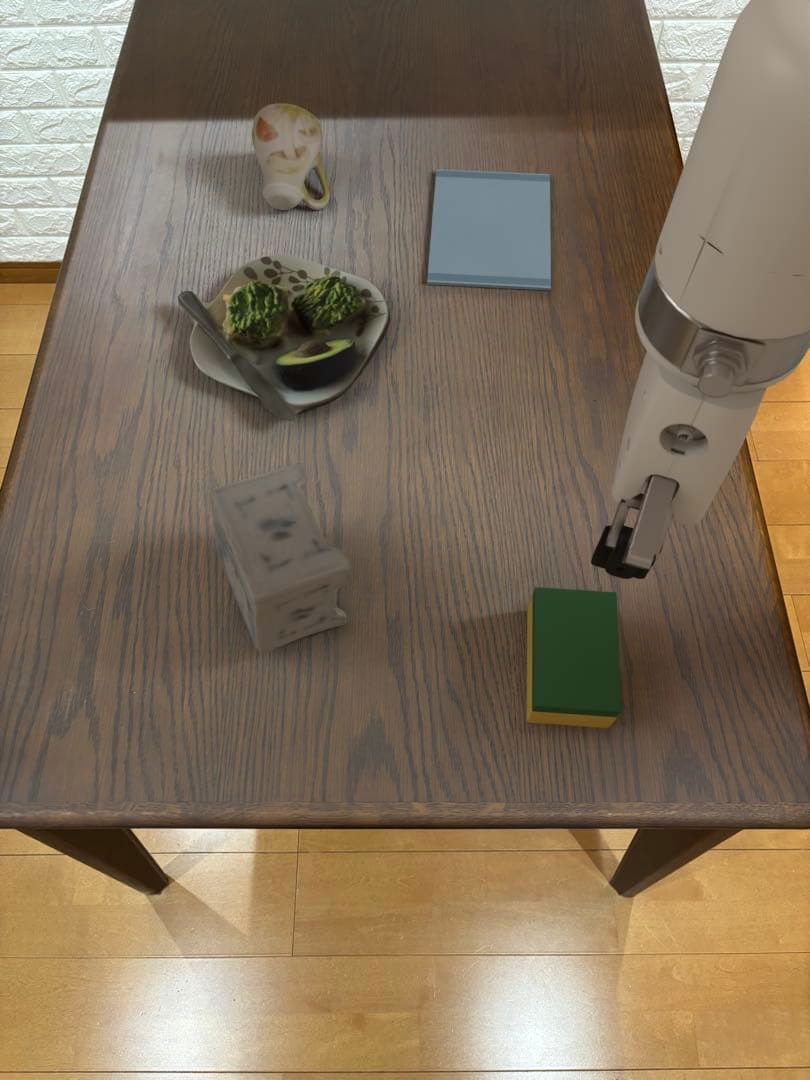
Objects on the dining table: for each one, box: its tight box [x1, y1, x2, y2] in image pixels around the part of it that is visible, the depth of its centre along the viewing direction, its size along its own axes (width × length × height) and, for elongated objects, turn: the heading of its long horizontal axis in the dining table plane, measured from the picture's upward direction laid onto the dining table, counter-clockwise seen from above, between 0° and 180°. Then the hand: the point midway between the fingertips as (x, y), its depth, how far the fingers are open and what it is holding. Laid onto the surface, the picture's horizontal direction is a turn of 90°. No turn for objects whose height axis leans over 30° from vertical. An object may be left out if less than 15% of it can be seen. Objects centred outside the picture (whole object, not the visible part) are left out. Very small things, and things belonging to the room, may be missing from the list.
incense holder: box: [209, 462, 352, 654], centre depth 61 cm, size 10×8×10 cm
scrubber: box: [526, 586, 623, 729], centre depth 61 cm, size 9×6×4 cm, turn 176°
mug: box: [251, 102, 331, 211], centre depth 84 cm, size 8×10×10 cm
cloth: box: [426, 168, 552, 292], centre depth 84 cm, size 12×16×1 cm
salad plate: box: [177, 253, 391, 422], centre depth 75 cm, size 19×18×5 cm
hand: (634, 500), depth 51 cm, fingers open, 9 cm apart
